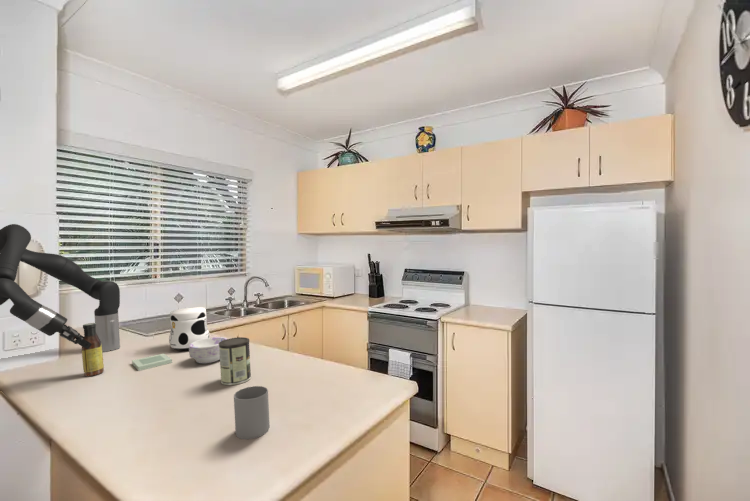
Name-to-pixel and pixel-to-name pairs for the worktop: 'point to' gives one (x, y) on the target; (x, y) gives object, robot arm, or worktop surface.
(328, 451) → the worktop surface
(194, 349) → the paper bowls
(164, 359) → the trivet
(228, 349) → the coffee can
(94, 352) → the sauce bottle
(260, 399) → the cup
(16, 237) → the robot arm
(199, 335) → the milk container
